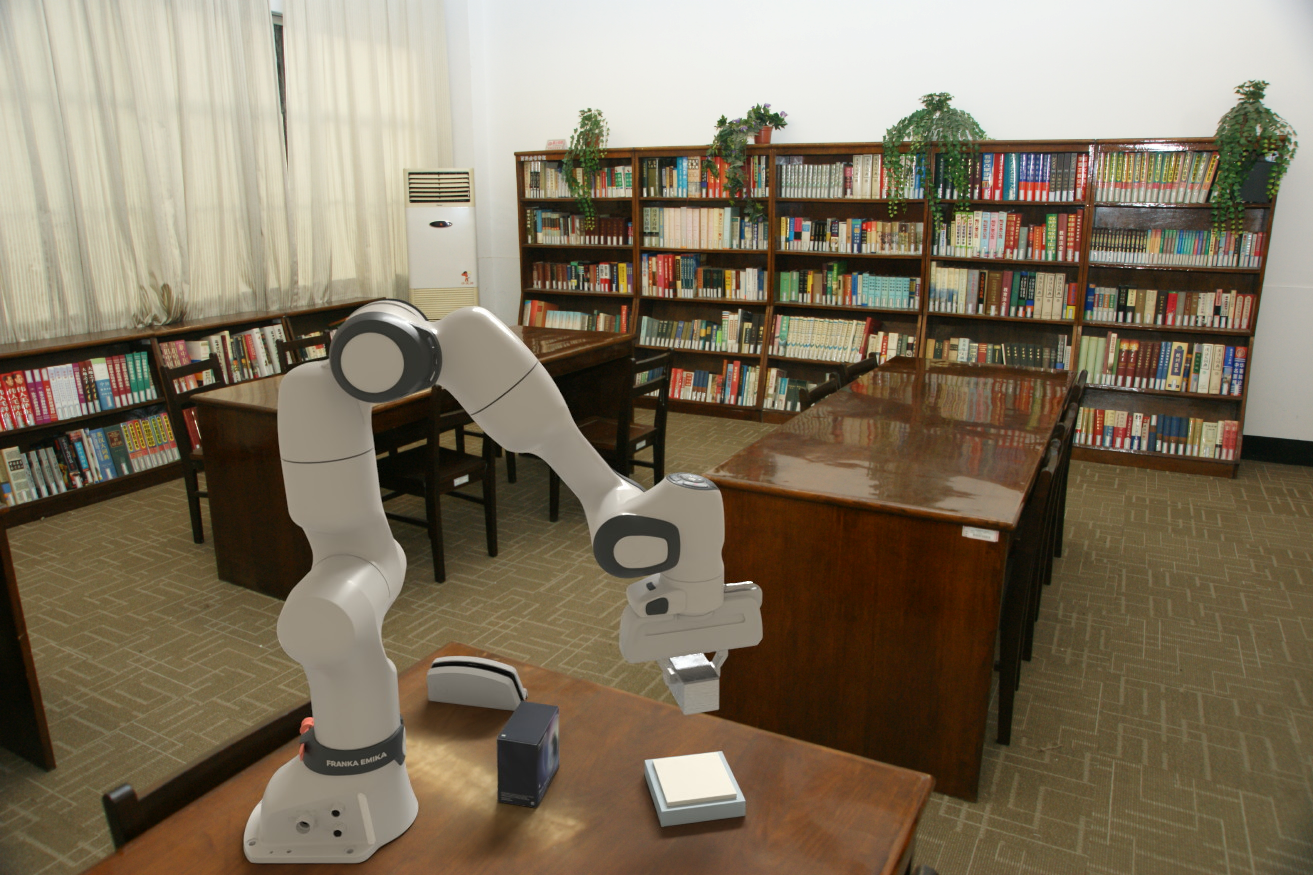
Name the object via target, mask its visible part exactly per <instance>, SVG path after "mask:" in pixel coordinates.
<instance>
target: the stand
mask: <svg viewBox="0 0 1313 875" xmlns="http://www.w3.org/2000/svg"><path fill="white" fill-rule="evenodd" d="M643 775H644V777H645V781H646V782H647V786H648V790H649V792H650V795H651V798H652V801H653V803H654V804H653V805H654V807H655V810H656V813H657V817H658V820H659V824H660V826H661V827H662V828H664V827H670V826H678V825H685V824H691V823H693V824H694V823H700V822H707V821H716V820H721V819H729V818H738V817H745V816H746V804H747V803H746V802H747V801H746V799H745V797H744V794H743V792H742V790H741V788H740V786H739V784H738V782H737V779H736V778H735V776H734V773H733V772H732V769H731V767H730V765H729V763H728V761H727V758H726V757H725V755H724V753H723V751H722V750H721V751H720V750H718V751H711V752H710V751H709V752H703V753H694V754H685V755H677V756H676V755H675V756H668V757H667V756H666V757H659V758H651V759H650V758H649V759H645V760H644V774H643Z"/></svg>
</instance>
